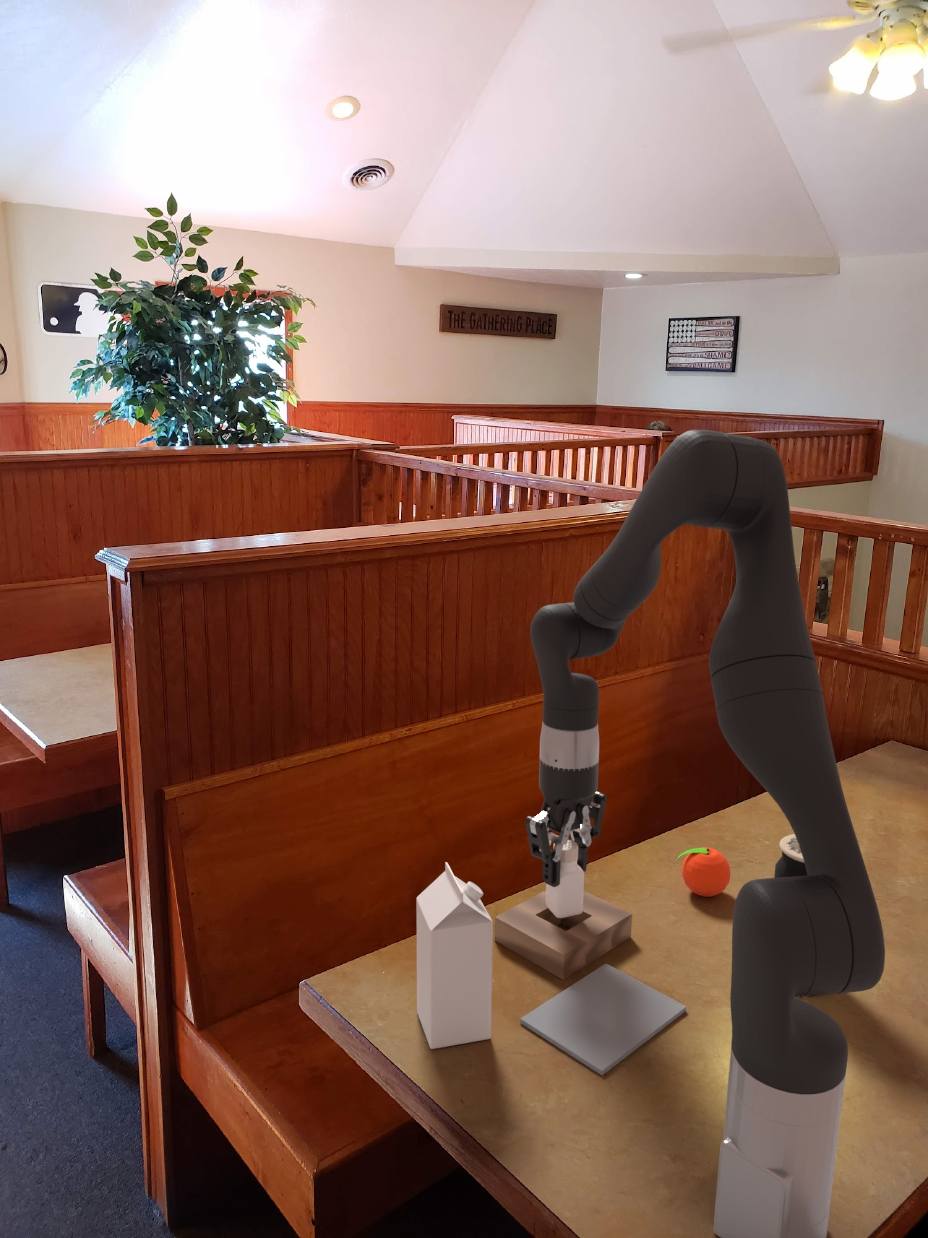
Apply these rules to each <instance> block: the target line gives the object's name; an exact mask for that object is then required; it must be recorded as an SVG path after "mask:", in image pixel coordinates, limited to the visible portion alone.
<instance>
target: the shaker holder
mask: <svg viewBox="0 0 928 1238" xmlns="http://www.w3.org/2000/svg"><path fill="white" fill-rule="evenodd" d="M632 923H633V913H631V912H629V911H627V910H625V909H623V908H621V907H619V906H618V905H615V904H613V903H610V902H609V901H606V900H605V899H602V898H601V897H599V896H596V895H594V894H592V893H589V892H588V891H586V890H584V894H583V912H582V913H581V914H578V915H574V916H569V917H564V918H557V917H556V916H555V915H554V914H553V913H552V912H551V911H550V910H549V908H548V907H547V906H546V889H545V890H544V891H541V892H540V893H537V894H536V895H534V896H532V897H530V898H528V899H526V900H525V901H523V902H520V903H518V904H517V905H514V907H511V908H509V909H507V910H505V911H504V912H502V913H500V914H498V915H496V916H494V941H495V942H497V943H498V944H500V945H502V946H503V947H505V948H507V949H509V950H511V951H512V952H514V953H515V954H518V955H519V956H521V957H523V958H524V959H526V960H528V961H529V962H531V963H532V964H534V965H537V966H538V967H539V968H542V969H543V970H545V971H547V972H548V973H550V974H552V975H554V976H555V977H557V978H559V979H561V980H562V981H563V980H565V979H568V977H570V976H572V975H573V974H575V973H576V972H578V971H580V970H581V969H584V968H585V967H586V966H588V965H589V964H591V963H593V962H594V961H595V960H597V959H599V958H600V957H602V956H604V955H605V954H607V953H609V952H610V951H612V949H614V948H616V947H618V946H619V945H621V944H622V943H623V942H625V941H627V940H629V939H630V938H631V937H632ZM560 924H561V925H563V926H565V927H567V928H569V929H568V930H564V929H563V928H561V927H559V925H560Z"/></svg>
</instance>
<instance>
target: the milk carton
mask: <svg viewBox="0 0 928 1238" xmlns="http://www.w3.org/2000/svg"><path fill="white" fill-rule="evenodd" d="M444 863H445V864H444V865H445V866H444V868H445V870H444V871H443V872H442V873H441V874H440V875H439V876H438V877H437V878H436V879H435V880H433V882H432V883H430V885H428V886H427V887H426V888H425V889H424V890H423V891H422V892H421V893H420V894H419V895H417V897H416V1012H417V1016H418V1018H419V1022H420V1024H421V1027H422V1030H423V1033H424V1035H425V1038H426V1041H427V1043H428V1047H429V1048H430V1050H434V1049H440V1048H447V1047H451V1046H456V1045H457V1046H458V1045H463V1044H468V1043H469V1044H470V1043H474V1042H479V1041H485V1040H490V1039H491V1038H492V1006H493V1005H492V1001H493V999H492V998H493V997H492V996H493V949H494V947H493V942H494V940H493V939H494V935H493V933H494V922H493V920H492V918H491V915H490V914H489V912H488V911H487V909H486V906H484V903H483V902H482V899H481V898H482V897H483V895H484V892H483V890H482V889H481V887H479V886H478V885H477V884H476V883H474V882H472V881H467V883H466V882H464V881H463V880H462V879H460V878H458V877H457V876H455V875H454V873H453V871H452V869H451V866H450V865H449V863H448V862H446V861H445V862H444Z"/></svg>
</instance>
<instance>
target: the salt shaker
mask: <svg viewBox="0 0 928 1238" xmlns="http://www.w3.org/2000/svg"><path fill="white" fill-rule="evenodd" d="M554 846H555V843H554V842H553V847H552V848H553V849H552V850H554ZM559 860H561V863H560V884H559V885H558V886H556V887H552V886H550V885H548V884H546V883H545V890H546V906H547V907H548V908H549V910H550V911H551V912H552V913H553V914H554V915H555V916H556V917H557V918H564V917H569V916H574V915H578V914H581V913H582V912H583V894H584V891H585V889H584V888H585V887H584V886H585V872H584V871H583V870H582V869H581V867H580V866H579V865H578V864H577V860H578V845H577V843H576V842H574V841H573V840H572V839H568V842H567V844H565V845H563V848H562V852H561V856H560V859H559Z"/></svg>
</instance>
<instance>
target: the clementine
mask: <svg viewBox="0 0 928 1238" xmlns="http://www.w3.org/2000/svg"><path fill="white" fill-rule="evenodd" d="M684 855H686V857H685V858H684V859H683V863H682V867H681V875H682V879H683V881H684V884H685V885H686V887H687V888H688V889H689V890H690V891H691V892H692V893H694V894H695V895H698V896H700V897H709V898H710V897H714V896H717V895H719V894H721V893H723V892H724V891H725V889H726V888H727V887H728V885H729V883H730V881H731V875H732V874H731V867H730V864H729V862H728V860H727V858H726V857H725V856H724V855H723V854H722V853H721V852H719V851H718V850H717V849H714V848H712V847H711V848H710V847H705V846H704V847H695V848H694V847H693V848H691V849H688V850H685V851H684V852H682V853H680V855H678V857H677V858H676V860H675V861H674V863H676V862H677V860H679V858H681V857H682V856H684Z"/></svg>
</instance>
